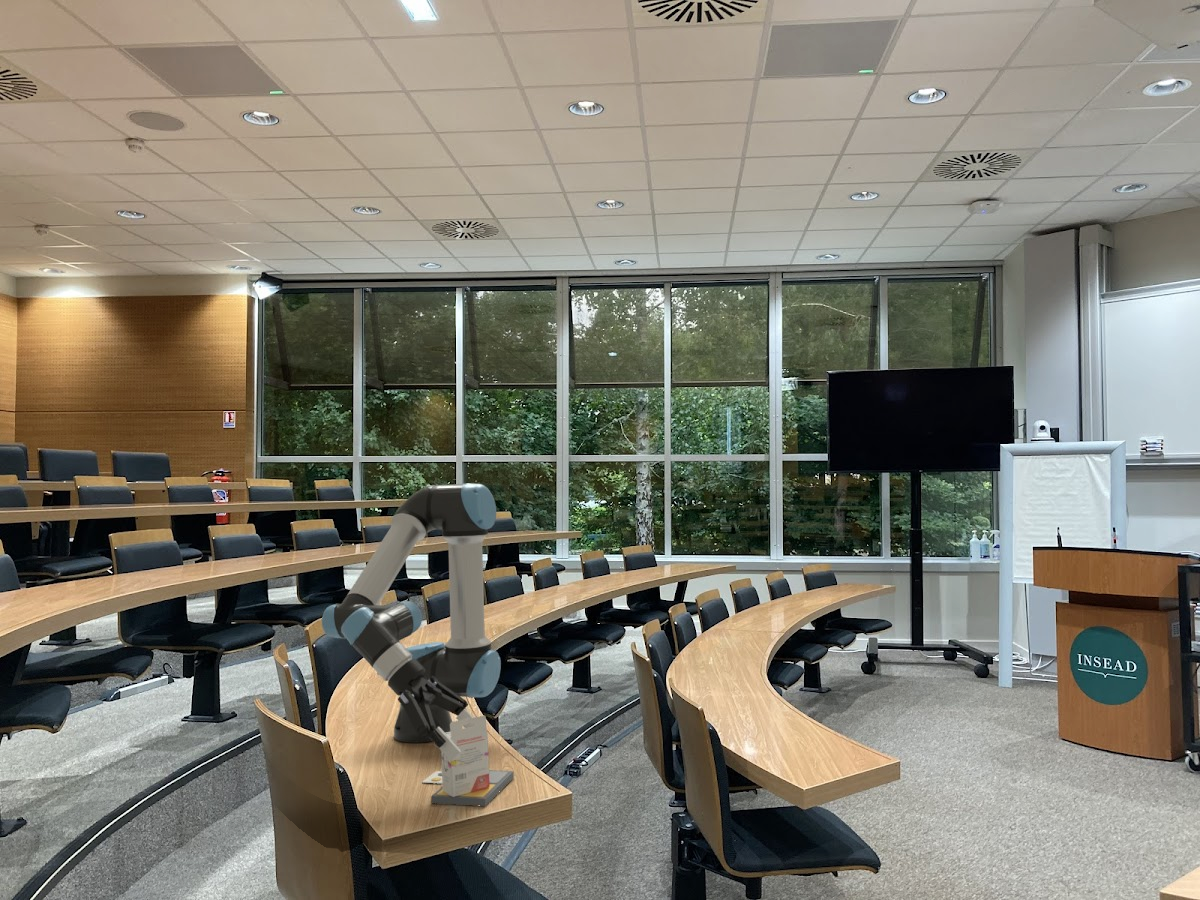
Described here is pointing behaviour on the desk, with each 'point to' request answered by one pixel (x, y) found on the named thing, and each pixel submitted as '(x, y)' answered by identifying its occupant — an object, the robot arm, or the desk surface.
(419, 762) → the desk surface
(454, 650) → the robot arm
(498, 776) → the pad board
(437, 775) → the pattern card
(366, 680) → the desk surface
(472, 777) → the ink cartridge box
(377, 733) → the desk surface
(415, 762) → the desk surface
